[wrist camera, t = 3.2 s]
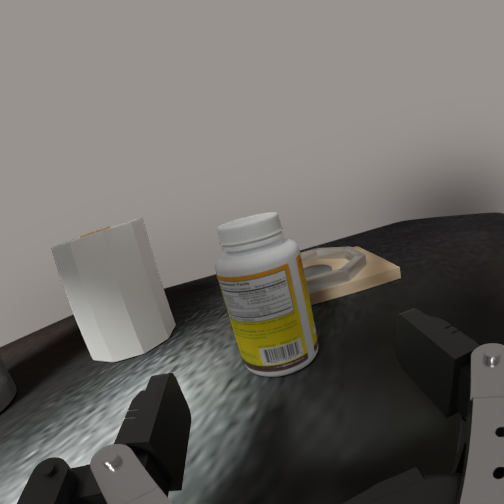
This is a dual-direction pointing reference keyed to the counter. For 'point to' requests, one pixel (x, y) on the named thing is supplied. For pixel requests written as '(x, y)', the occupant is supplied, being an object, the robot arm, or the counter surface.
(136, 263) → the toilet paper
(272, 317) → the supplement bottle
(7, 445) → the counter surface
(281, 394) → the counter surface
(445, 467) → the counter surface
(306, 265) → the seat plate
